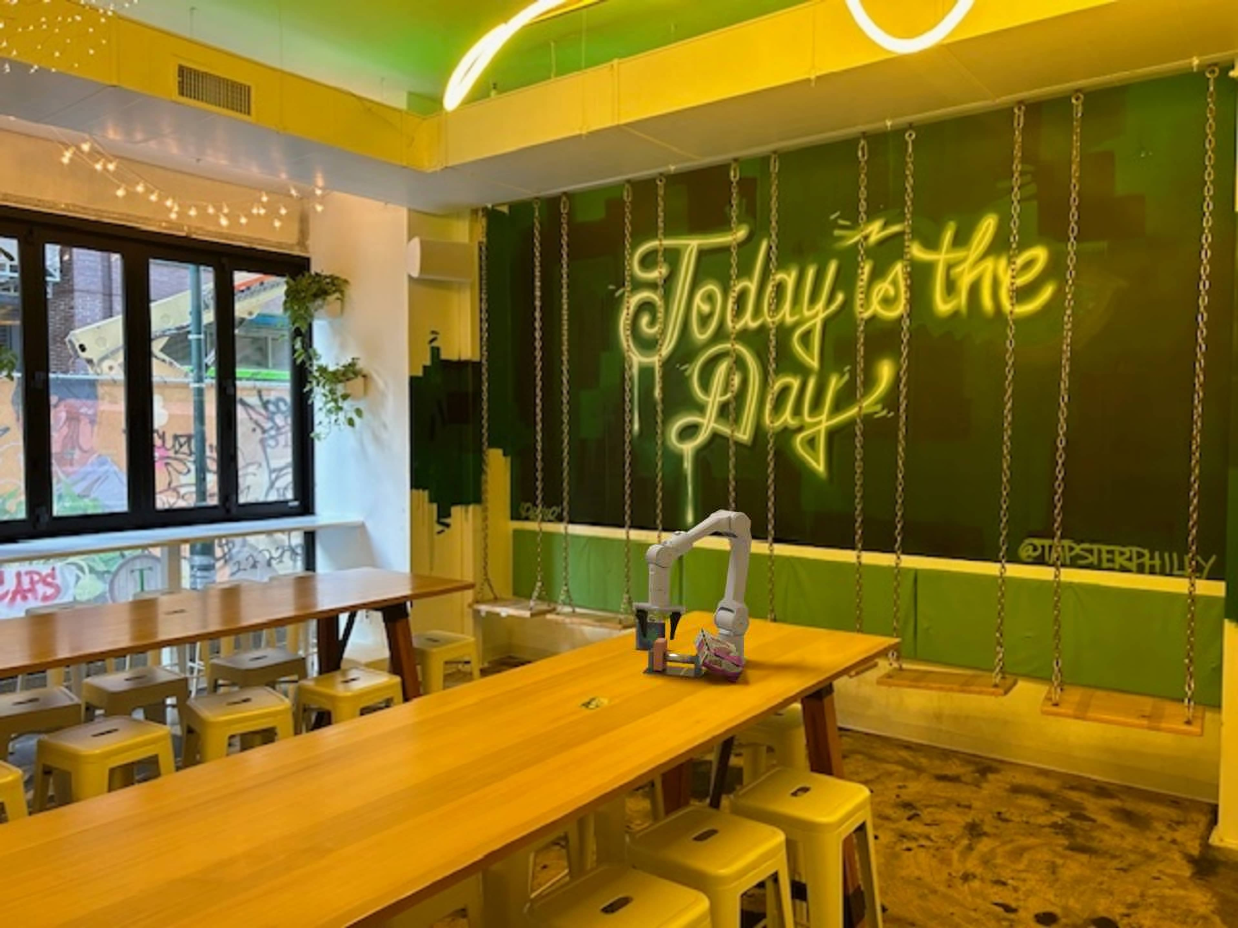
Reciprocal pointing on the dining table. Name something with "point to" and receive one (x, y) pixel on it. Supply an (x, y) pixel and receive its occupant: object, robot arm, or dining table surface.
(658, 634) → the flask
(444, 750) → the dining table surface
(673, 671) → the pipe rig
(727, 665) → the candy bar box
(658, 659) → the orange block
